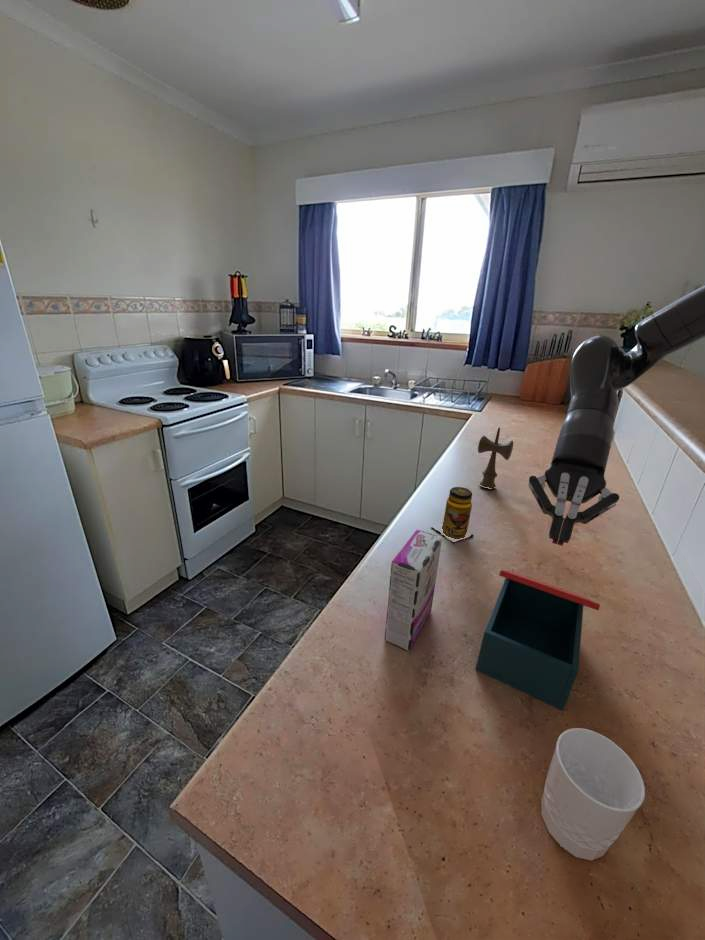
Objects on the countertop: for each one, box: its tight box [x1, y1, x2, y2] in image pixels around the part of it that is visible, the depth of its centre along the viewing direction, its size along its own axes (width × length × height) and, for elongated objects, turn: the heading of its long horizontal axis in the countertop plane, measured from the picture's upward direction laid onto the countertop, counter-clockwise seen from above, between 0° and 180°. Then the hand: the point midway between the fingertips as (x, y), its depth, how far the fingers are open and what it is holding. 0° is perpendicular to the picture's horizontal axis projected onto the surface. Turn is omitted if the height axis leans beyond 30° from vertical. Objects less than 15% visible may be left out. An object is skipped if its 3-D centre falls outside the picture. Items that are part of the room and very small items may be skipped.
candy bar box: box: [384, 529, 443, 652], centre depth 67 cm, size 11×5×16 cm, turn 151°
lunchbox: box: [475, 577, 584, 711], centre depth 65 cm, size 17×13×8 cm
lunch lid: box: [498, 569, 601, 611], centre depth 62 cm, size 17×13×1 cm
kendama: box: [477, 427, 514, 488], centre depth 123 cm, size 6×10×20 cm, turn 58°
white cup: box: [540, 727, 646, 862], centre depth 42 cm, size 8×8×10 cm
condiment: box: [442, 486, 473, 539], centre depth 98 cm, size 7×8×12 cm
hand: (557, 542), depth 59 cm, fingers closed
